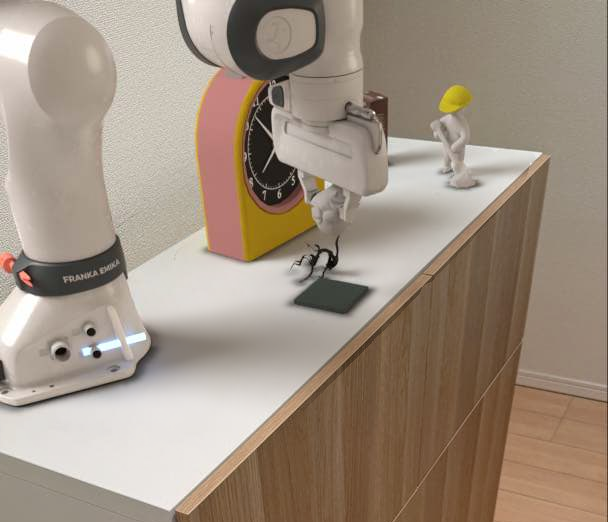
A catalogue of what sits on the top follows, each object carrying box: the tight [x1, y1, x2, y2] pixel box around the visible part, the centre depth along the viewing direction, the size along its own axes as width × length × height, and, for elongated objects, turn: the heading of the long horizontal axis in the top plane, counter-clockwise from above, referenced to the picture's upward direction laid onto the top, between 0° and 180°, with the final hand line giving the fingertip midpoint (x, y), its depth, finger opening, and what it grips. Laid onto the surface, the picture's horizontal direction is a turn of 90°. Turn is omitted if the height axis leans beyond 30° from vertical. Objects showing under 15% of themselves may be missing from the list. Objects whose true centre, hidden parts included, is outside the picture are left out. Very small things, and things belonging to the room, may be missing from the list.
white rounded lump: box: [311, 183, 361, 238], centre depth 103 cm, size 6×7×7 cm
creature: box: [290, 235, 341, 283], centre depth 115 cm, size 8×5×8 cm
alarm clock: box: [194, 68, 326, 262], centre depth 120 cm, size 21×9×26 cm, turn 143°
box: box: [363, 90, 389, 152], centre depth 149 cm, size 6×4×12 cm
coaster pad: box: [293, 276, 369, 315], centre depth 111 cm, size 8×8×1 cm
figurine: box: [430, 84, 477, 189], centre depth 139 cm, size 10×9×15 cm
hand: (330, 212), depth 103 cm, fingers closed on white rounded lump, 6 cm apart
